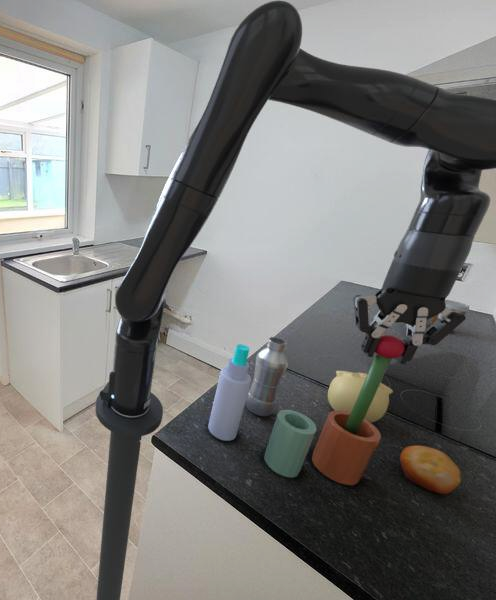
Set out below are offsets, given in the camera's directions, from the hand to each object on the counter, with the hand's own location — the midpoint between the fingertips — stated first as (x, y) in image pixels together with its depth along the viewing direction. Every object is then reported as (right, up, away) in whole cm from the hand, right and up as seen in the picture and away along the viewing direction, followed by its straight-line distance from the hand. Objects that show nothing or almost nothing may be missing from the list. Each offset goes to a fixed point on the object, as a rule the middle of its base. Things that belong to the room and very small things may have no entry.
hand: (383, 357), depth 54 cm
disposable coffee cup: (+96, -3, +78) cm, 124 cm away
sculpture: (+15, -19, +25) cm, 35 cm away
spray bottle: (-21, -20, +17) cm, 34 cm away
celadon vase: (-12, -24, +10) cm, 28 cm away
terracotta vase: (-1, -24, +9) cm, 26 cm away
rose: (-1, -18, +7) cm, 19 cm away
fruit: (+14, -26, +7) cm, 30 cm away
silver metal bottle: (-9, -18, +24) cm, 32 cm away
